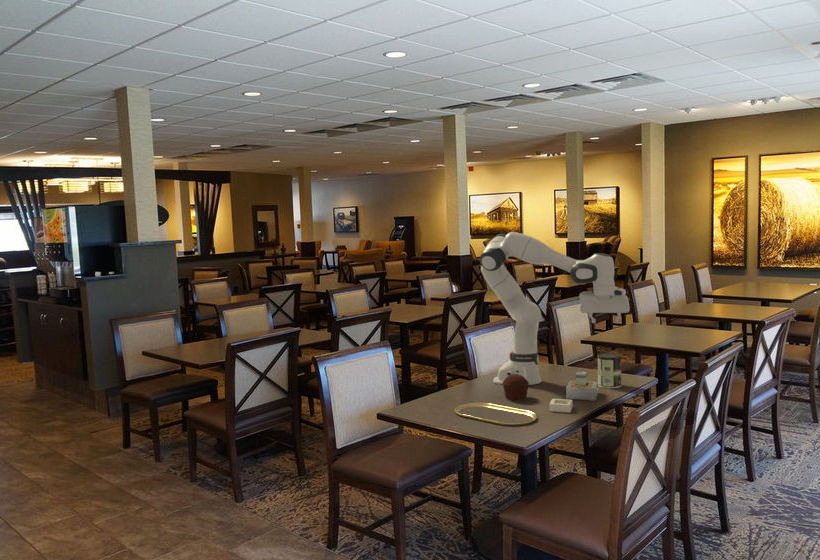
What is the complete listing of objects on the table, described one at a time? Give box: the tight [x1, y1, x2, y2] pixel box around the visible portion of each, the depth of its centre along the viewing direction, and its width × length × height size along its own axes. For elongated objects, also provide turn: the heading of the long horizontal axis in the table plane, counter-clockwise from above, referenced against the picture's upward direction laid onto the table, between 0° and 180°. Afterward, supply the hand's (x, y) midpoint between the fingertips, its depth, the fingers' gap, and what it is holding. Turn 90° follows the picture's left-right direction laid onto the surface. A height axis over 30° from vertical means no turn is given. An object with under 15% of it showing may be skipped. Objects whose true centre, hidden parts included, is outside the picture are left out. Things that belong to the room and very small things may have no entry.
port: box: [565, 380, 599, 401], centre depth 276 cm, size 12×12×5 cm
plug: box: [575, 371, 588, 386], centre depth 277 cm, size 4×4×9 cm
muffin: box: [501, 374, 529, 402], centre depth 277 cm, size 12×11×10 cm
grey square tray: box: [549, 398, 573, 414], centre depth 258 cm, size 8×8×3 cm
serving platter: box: [454, 402, 538, 427], centre depth 254 cm, size 19×35×2 cm, turn 48°
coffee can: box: [596, 352, 622, 389], centre depth 291 cm, size 10×10×14 cm
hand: (605, 323), depth 275 cm, fingers open, 8 cm apart
